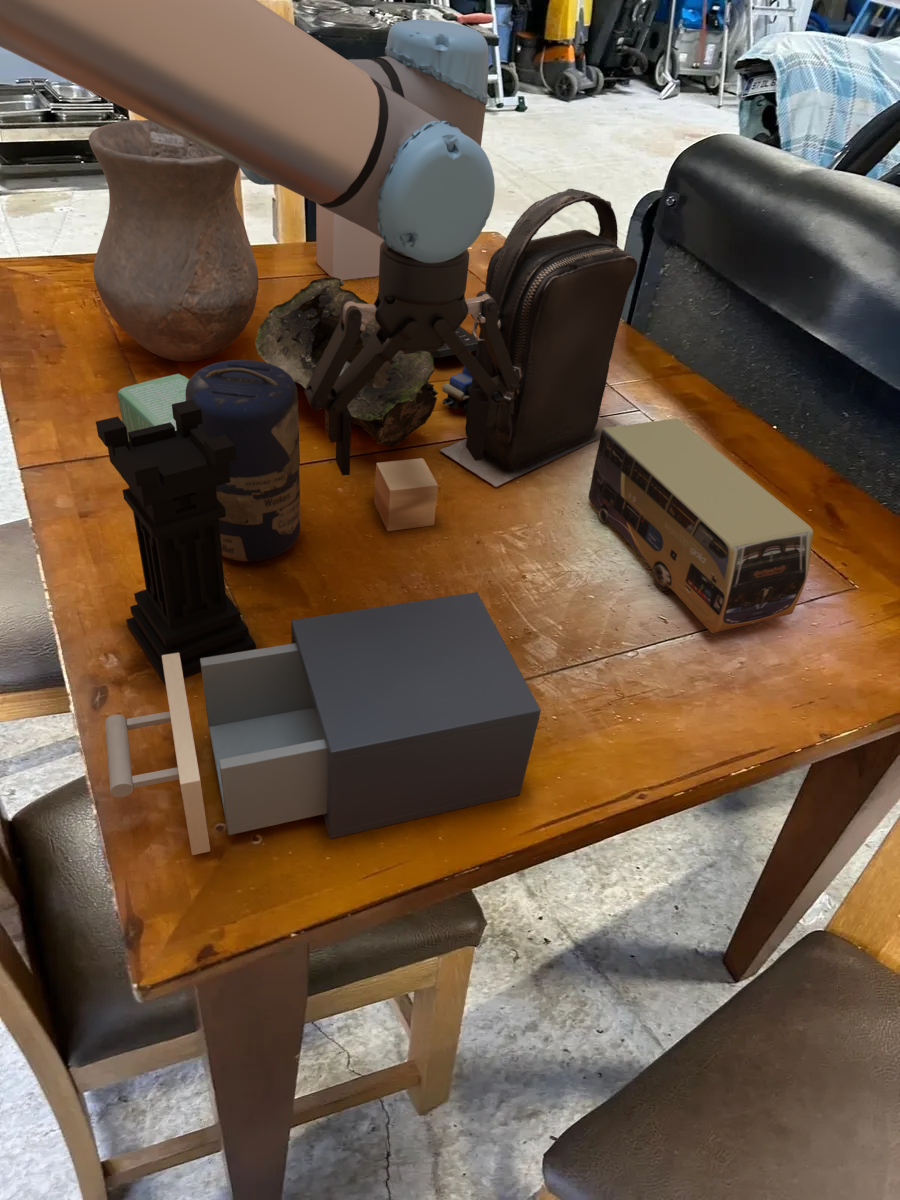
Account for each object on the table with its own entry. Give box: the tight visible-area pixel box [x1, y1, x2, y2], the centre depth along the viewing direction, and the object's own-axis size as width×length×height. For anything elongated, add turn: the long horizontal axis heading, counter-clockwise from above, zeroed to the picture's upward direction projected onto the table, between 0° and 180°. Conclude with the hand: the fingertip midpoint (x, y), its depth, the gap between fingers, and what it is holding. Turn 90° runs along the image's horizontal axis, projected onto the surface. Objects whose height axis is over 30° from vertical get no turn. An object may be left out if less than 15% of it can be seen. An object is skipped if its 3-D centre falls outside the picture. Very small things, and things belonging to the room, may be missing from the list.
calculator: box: [431, 325, 478, 359], centre depth 121 cm, size 9×12×3 cm
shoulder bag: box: [439, 188, 638, 488], centre depth 96 cm, size 23×9×28 cm, turn 134°
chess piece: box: [95, 400, 257, 686], centre depth 69 cm, size 8×8×20 cm
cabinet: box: [290, 591, 542, 840], centre depth 65 cm, size 15×13×10 cm
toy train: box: [441, 365, 473, 415], centre depth 113 cm, size 4×22×5 cm, turn 136°
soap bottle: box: [315, 203, 384, 281], centre depth 130 cm, size 11×8×27 cm
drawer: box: [104, 643, 328, 856], centre depth 62 cm, size 18×11×8 cm, turn 109°
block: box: [373, 457, 439, 532], centre depth 90 cm, size 5×5×5 cm
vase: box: [88, 119, 259, 362], centre depth 106 cm, size 20×19×25 cm
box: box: [117, 373, 190, 440], centre depth 92 cm, size 7×14×8 cm, turn 41°
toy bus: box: [588, 418, 814, 634], centre depth 87 cm, size 10×23×10 cm, turn 22°
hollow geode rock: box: [255, 276, 439, 448], centre depth 103 cm, size 28×13×15 cm
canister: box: [185, 359, 302, 562], centre depth 80 cm, size 10×10×18 cm
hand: (409, 460), depth 88 cm, fingers open, 13 cm apart
